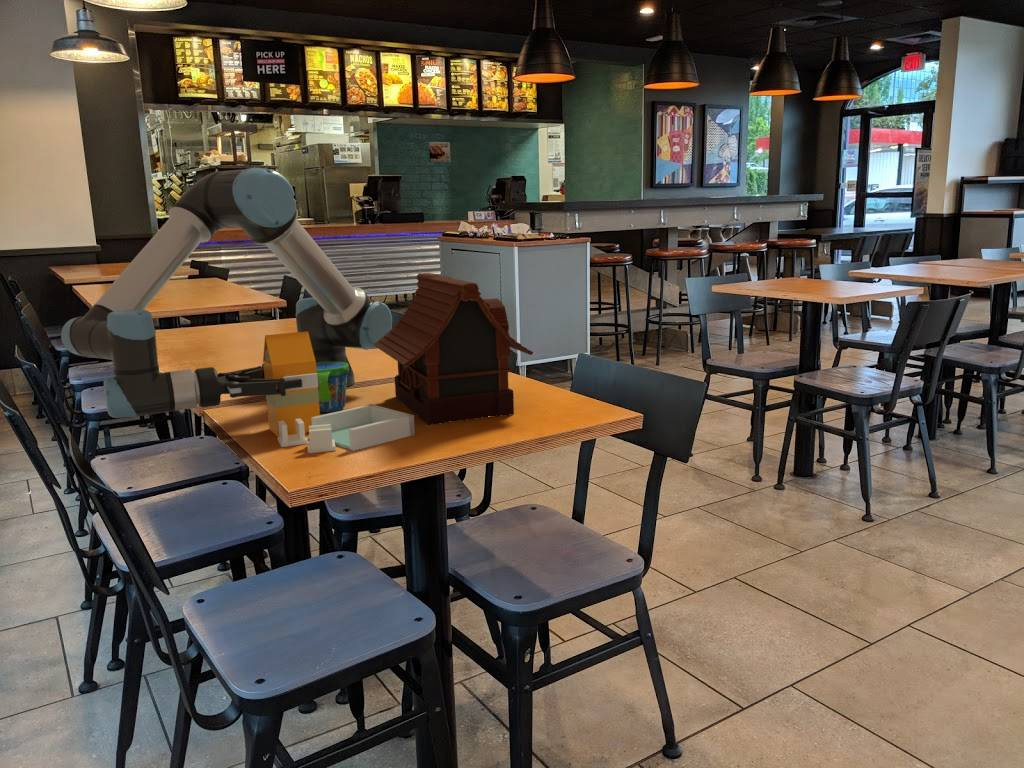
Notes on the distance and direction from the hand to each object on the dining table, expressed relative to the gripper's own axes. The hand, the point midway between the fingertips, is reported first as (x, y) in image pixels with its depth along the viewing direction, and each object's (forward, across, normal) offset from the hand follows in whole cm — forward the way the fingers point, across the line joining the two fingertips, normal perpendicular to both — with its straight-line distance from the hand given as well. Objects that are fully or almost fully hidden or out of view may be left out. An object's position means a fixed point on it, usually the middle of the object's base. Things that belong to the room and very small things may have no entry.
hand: (308, 374), depth 159 cm
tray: (+6, +13, -11) cm, 18 cm away
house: (+32, -1, -11) cm, 34 cm away
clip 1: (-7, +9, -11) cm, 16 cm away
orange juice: (-4, 0, -11) cm, 12 cm away
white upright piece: (-3, +16, -11) cm, 20 cm away
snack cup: (+7, -13, -11) cm, 19 cm away
